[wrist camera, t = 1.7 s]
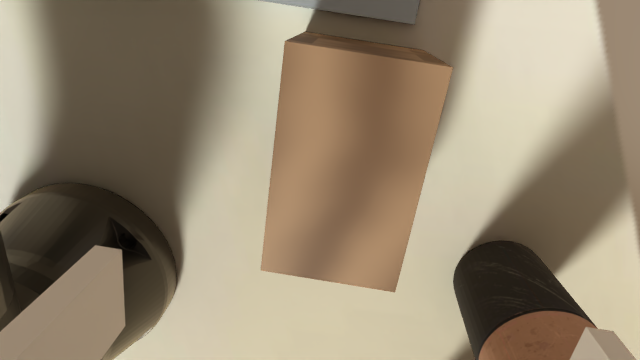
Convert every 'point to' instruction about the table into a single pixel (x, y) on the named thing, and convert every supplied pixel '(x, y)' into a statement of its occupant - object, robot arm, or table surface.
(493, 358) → the travel mug
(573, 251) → the table surface
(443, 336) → the table surface
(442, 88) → the tan rectangular box
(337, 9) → the slate mat
